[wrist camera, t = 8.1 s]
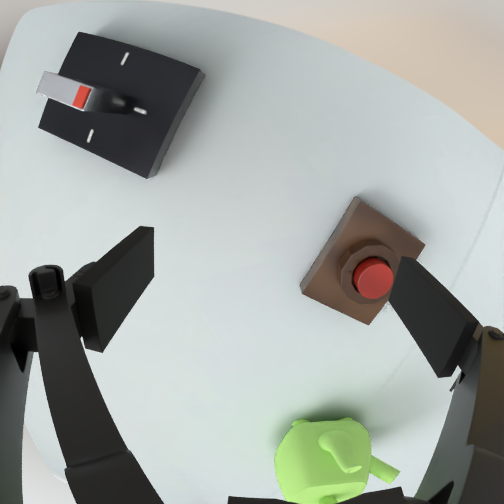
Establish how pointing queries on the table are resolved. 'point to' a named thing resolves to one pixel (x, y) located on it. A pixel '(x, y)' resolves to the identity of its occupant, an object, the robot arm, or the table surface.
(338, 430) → the teapot
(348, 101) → the table surface
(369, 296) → the button
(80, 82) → the red-tipped metal bar
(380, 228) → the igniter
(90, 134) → the panel
